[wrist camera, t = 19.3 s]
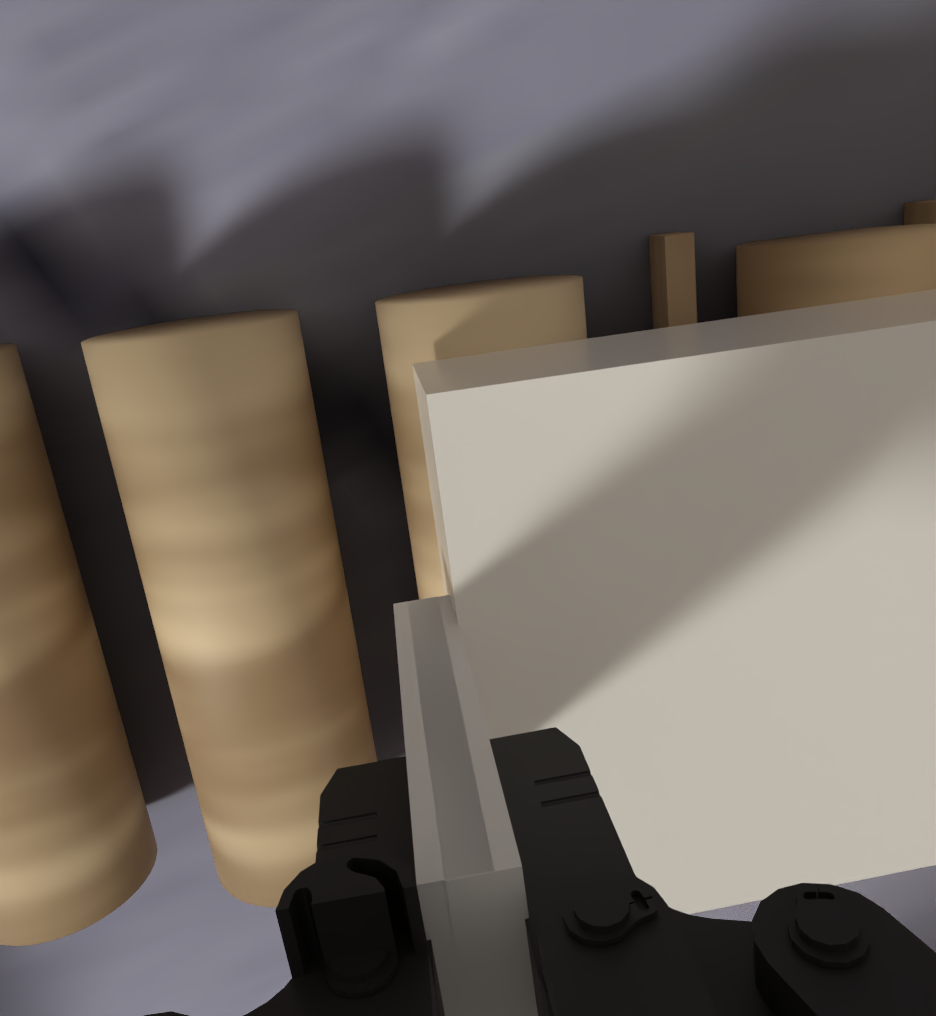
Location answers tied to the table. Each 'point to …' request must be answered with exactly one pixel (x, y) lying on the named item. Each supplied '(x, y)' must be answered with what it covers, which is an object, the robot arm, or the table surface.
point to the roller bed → (221, 584)
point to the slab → (710, 581)
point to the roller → (834, 267)
